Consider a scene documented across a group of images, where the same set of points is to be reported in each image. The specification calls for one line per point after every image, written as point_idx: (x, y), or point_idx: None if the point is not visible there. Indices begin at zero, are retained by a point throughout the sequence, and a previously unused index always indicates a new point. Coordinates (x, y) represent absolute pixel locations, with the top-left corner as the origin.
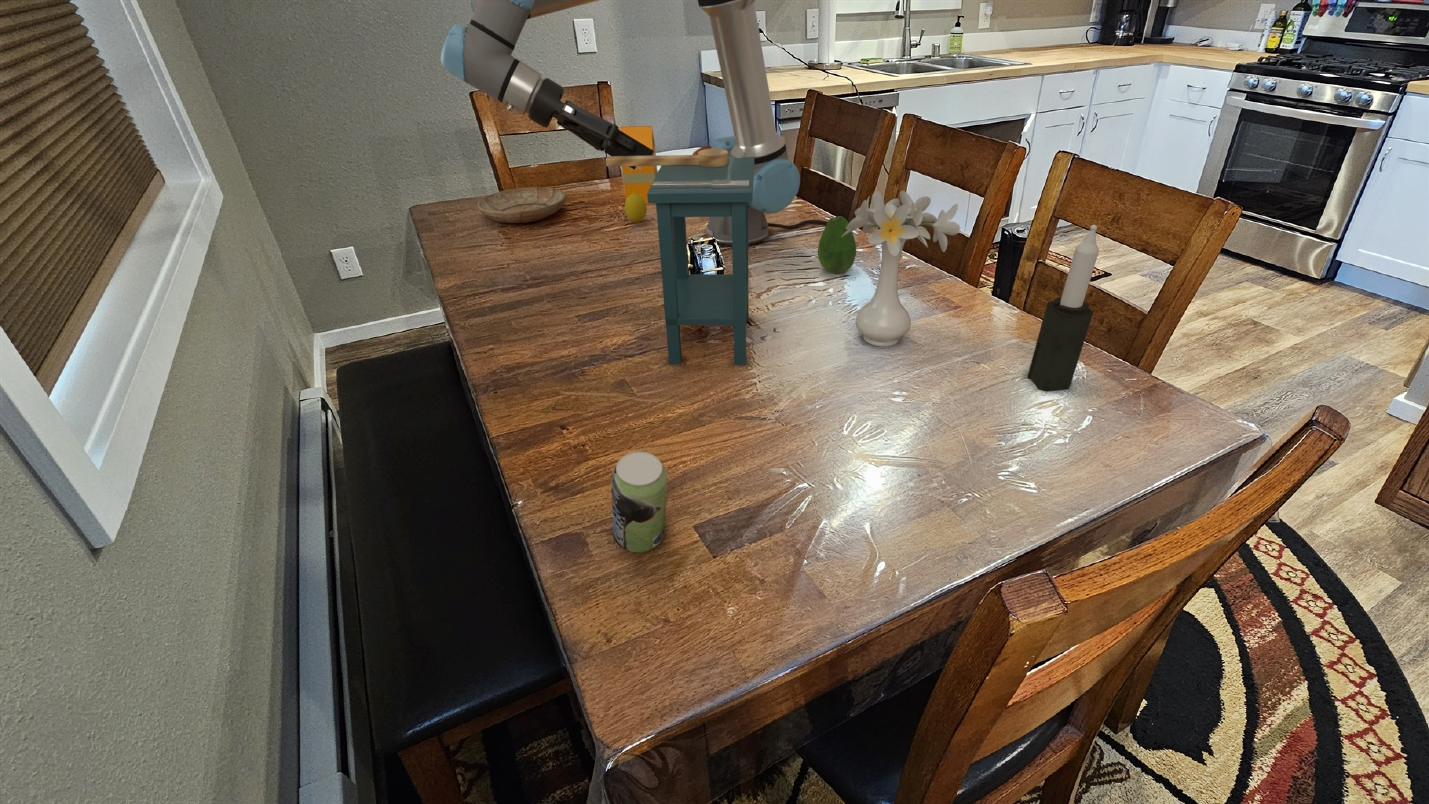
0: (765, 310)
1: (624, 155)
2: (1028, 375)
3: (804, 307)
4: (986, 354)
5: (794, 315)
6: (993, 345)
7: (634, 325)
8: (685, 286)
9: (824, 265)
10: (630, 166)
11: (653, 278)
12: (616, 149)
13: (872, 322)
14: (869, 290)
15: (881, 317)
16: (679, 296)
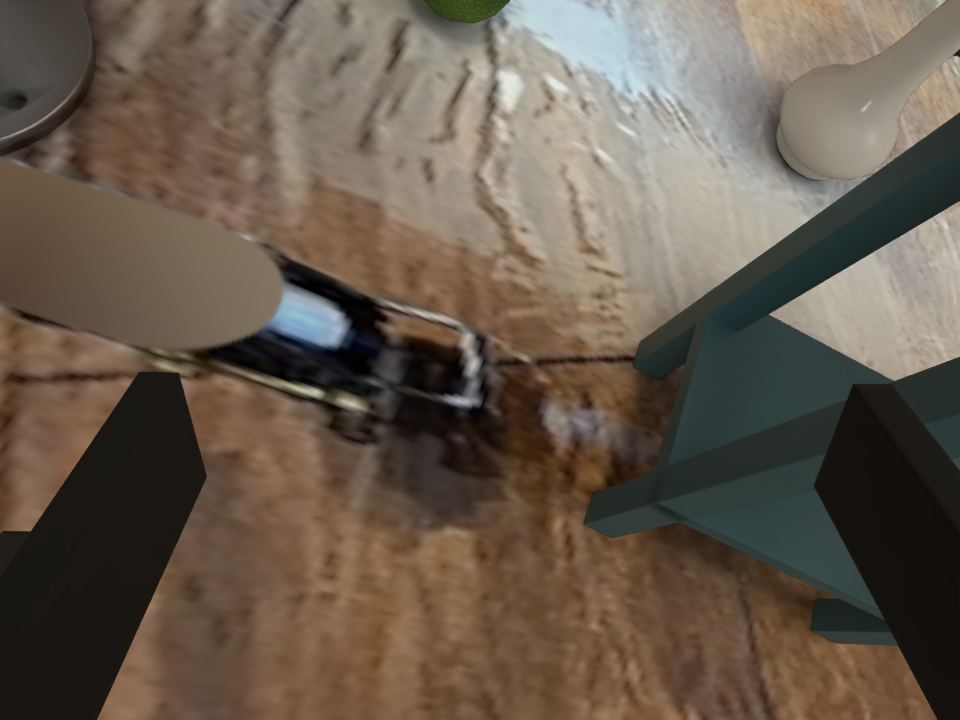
0: (616, 284)
1: (135, 540)
2: (957, 51)
3: (629, 192)
4: (883, 46)
5: (663, 236)
6: (858, 15)
7: (595, 694)
8: (760, 510)
9: (477, 19)
10: (191, 508)
11: (221, 522)
12: (83, 626)
13: (885, 154)
14: (587, 18)
15: (896, 133)
16: (827, 555)
